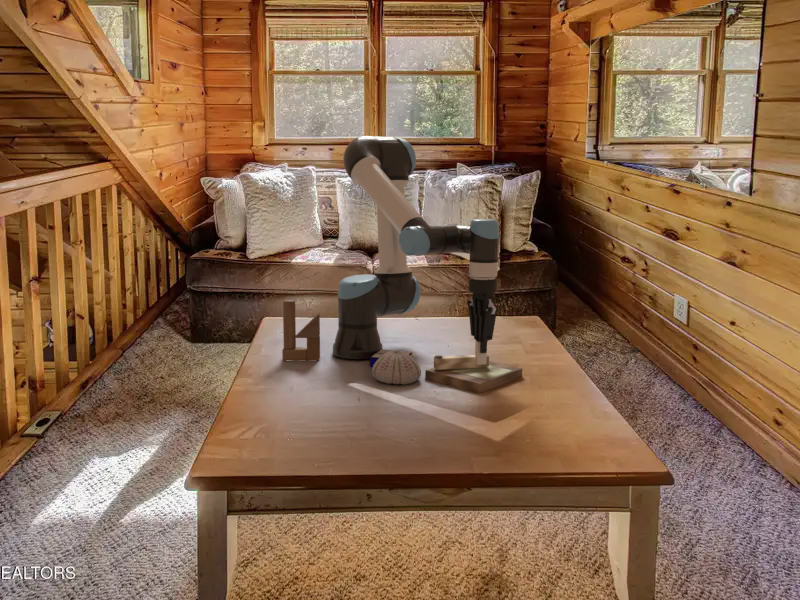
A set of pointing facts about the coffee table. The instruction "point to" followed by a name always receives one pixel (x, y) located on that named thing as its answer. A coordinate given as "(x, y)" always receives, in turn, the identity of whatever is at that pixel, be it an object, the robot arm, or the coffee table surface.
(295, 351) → the wooden block
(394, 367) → the sea urchin shell
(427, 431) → the coffee table surface
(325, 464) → the coffee table surface
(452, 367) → the folding brace
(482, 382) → the wooden picture frame
